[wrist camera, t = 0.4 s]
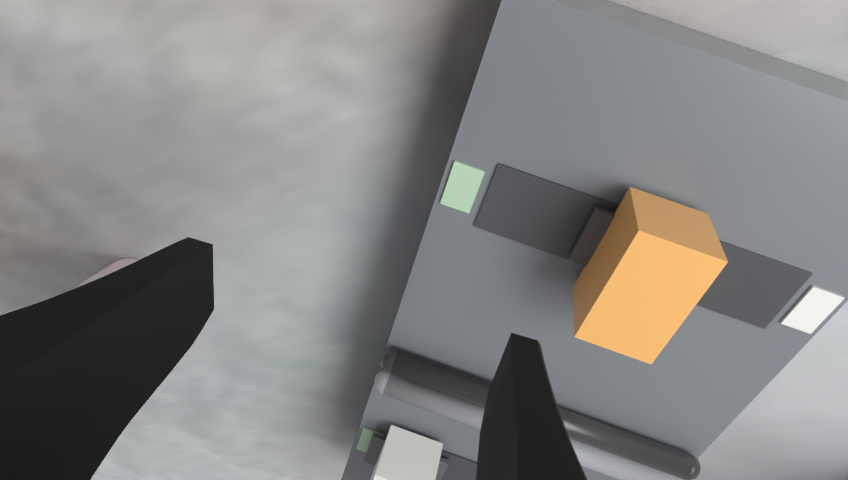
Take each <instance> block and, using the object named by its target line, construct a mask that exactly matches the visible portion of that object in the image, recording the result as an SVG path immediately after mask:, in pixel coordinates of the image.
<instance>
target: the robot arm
mask: <svg viewBox="0 0 848 480" xmlns="http://www.w3.org/2000/svg"><path fill="white" fill-rule="evenodd" d="M213 310H214V288H213V244H209V243H206V242H202V241H199V240H196V239H192V238H189V237H188V238H186V239H183V240H181V241H179V242H176V243H174V244H172V245H170V246H168V247H166V248H164V249H161V250H159V251H157V252H155V253H153V254H151V255H149V256H147V257H145V258H143V259H140V260H138V261H136V262H134V263H132V264H130V265H128V266H125V267H123V268H121V269H119V270H117V271H115V272H112V273H110V274H108V275H106V276H104V277H101V278H99V279H97V280H94V281H92V282H89V283H87V284H85V285H82V286H80V287H77V288H75V289H72V290H70V291H68V292H65V293H63V294H60V295H58V296H55V297H53V298H50V299H48V300H45V301H42V302H39V303H37V304H34V305H31V306H28V307H25V308H22V309H19V310H16V311H13V312H10V313H7V314H4V315H1V316H0V480H90V479H91V478H92V476H93V474H94V473H95V471H96V470H97V468H98V467H99V465H100V464H101V462H102V461H103V459H104V458H105V456H106V455H107V453H108V452H109V450H110V449H111V447H112V446H113V444H114V443H115V441H116V440H117V438H118V437H119V435H120V434H121V433H122V431H123V430H124V429H125V427H126V426H127V425H128V423H129V422H130V421H131V419H132V418H133V417H134V416H135V414H136V413H137V412H138V411H139V410H140V408H141V407H142V406H143V405H144V403H145V402H146V401H147V400H148V399H149V397H150V396H151V395H152V394H153V392H154V391H155V390H156V389H157V388H158V386H159V385H160V384H161V383H162V382H163V380H164V379H165V378H166V377H167V375H168V374H169V373H170V372H171V371H172V369H173V368H174V367H175V366H176V364H177V363H178V362H179V361H180V359H181V358H182V357H183V356H184V354H185V353H186V352H187V351H188V349H189V348H190V347H191V346H192V344H193V343H194V341H195V339H196V338H197V336H198V335H199V333H200V332H201V330H202V328H203V327H204V325H205V323H206V322H207V320H208V318H209V317H210V315H211V313H212V312H213ZM476 480H587V477H586V475H585V473H584V471H583V469H582V467H581V464H580V462H579V460H578V457H577V455H576V453H575V450H574V448H573V446H572V443H571V441H570V438H569V436H568V433H567V431H566V428H565V425H564V422H563V420H562V417H561V414H560V411H559V408H558V405H557V403H556V400H555V397H554V393H553V390H552V387H551V383H550V380H549V377H548V373H547V369H546V366H545V362H544V358H543V353H542V349H541V345H540V343H539V342H538V340H535V339H531V338H528V337H525V336H521V335H518V334H514V333H511V335H510V338H509V340H508V343H507V345H506V348H505V350H504V353H503V355H502V358H501V360H500V363H499V365H498V368H497V371H496V373H495V376H494V378H493V381H492V383H491V386H490V388H489V391H488V395H487V399H486V404H485V409H484V414H483V420H482V425H481V430H480V438H479V449H478V461H477V473H476Z"/></svg>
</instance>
